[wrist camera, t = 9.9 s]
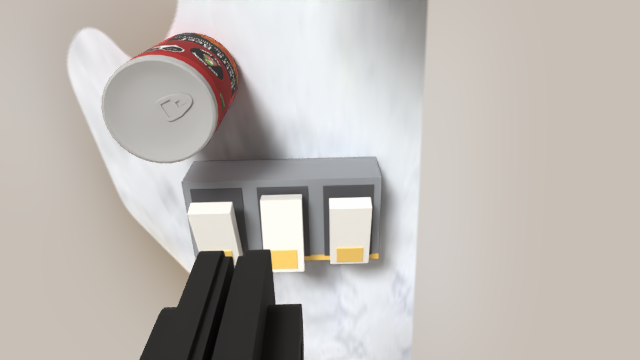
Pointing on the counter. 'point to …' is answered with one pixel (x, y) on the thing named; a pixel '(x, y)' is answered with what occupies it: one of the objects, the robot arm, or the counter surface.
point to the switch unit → (284, 179)
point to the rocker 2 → (283, 231)
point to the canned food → (170, 98)
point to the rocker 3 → (349, 229)
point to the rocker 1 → (215, 228)
